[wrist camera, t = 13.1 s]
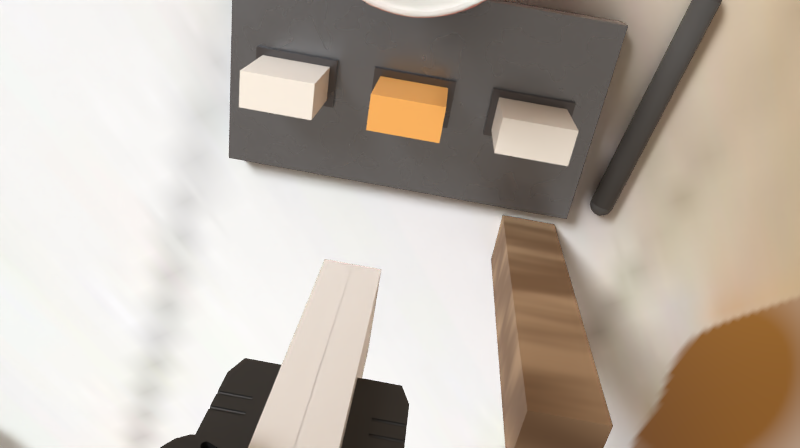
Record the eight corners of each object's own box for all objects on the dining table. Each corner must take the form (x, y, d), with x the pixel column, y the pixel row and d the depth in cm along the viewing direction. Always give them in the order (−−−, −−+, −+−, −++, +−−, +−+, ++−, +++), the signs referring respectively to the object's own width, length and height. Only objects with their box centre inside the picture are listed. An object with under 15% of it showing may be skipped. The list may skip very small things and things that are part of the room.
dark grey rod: (697, -20, 33) (706, -18, 32) (721, -12, 33) (731, -9, 32) (584, 206, 39) (588, 215, 38) (604, 212, 39) (609, 221, 38)
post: (502, 215, 40) (527, 410, 24) (554, 224, 40) (613, 426, 24) (491, 259, 42) (507, 469, 26) (540, 268, 42) (587, 484, 26)
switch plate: (242, -45, 34) (231, -44, 33) (621, 21, 34) (629, 26, 33) (236, 149, 40) (227, 159, 38) (563, 208, 40) (567, 221, 38)
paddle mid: (380, 76, 35) (370, 94, 31) (447, 88, 35) (446, 107, 31) (375, 109, 36) (366, 130, 32) (441, 120, 36) (439, 143, 32)
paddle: (262, 55, 35) (239, 70, 32) (329, 66, 35) (314, 83, 32) (261, 88, 36) (238, 107, 32) (326, 100, 36) (311, 120, 32)
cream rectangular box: (499, 97, 35) (502, 117, 31) (567, 109, 35) (578, 130, 31) (491, 129, 36) (494, 153, 32) (557, 141, 36) (567, 166, 32)
